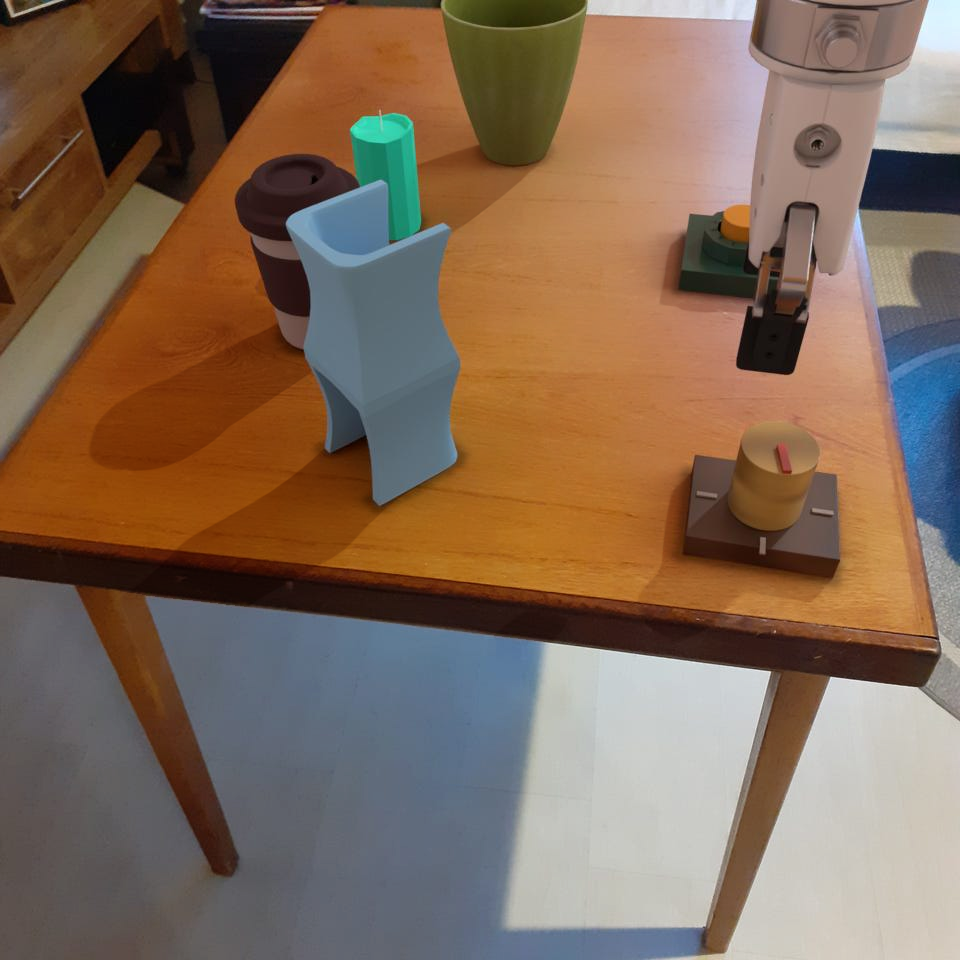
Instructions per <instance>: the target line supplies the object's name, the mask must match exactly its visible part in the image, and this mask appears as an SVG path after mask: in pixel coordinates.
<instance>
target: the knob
mask: <svg viewBox="0 0 960 960" xmlns="http://www.w3.org/2000/svg"><path fill="white" fill-rule="evenodd" d="M820 458H821V448H820V446H819V444H818V442H817V440H816V439H815V438H814V437H813V435H812V434H810V433H809V432H808V431H807V430H805V429H804V428H802V427H800V426H797V425H795V424H792V423H789V422H786V421H779V420H777V421H776V420H772V421H771V420H768V421H762V422H758V423H755V424H754V425H751V426H750V427H748V428H747V429H746V430H745V432H744V433H743V434H742V437H741V439H740V443H739V447H738V452H737V455H736V459H735V460H736V463H735V467H734V471H733V476H732V480H731V484H730V488H729V492H728V497H727V502H728V506H729V508H730V510H731V512H732V513H733V515H734V516H735V517H736V518H737V519H738V520H740V521H741V522H742V523H744V524H746V525H748V526H750V527H753V528H755V529H759V530H765V531H776V530H782V529H785V528H788V527H790V526H791V525H793V524H794V523H795V522H796V521H797V520H798V519H799V517H800V515H801V512H802V509H803V506H804V503H805V500H806V497H807V494H808V491H809V488H810V485H811V482H812V479H813V476H814V473H815V472H816V469H817V467H818V464H819V462H820Z"/></svg>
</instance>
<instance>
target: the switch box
mask: <svg viewBox="0 0 960 960" xmlns="http://www.w3.org/2000/svg"><path fill="white" fill-rule="evenodd" d="M724 211H725V210H722V211H717V212H715V213H713V214H712V215H709V214H700V213H689V214H688V221H687V228H686V235H685V240H684V248H683V254H682V255H683V256H682V261H681V267H680V275H679V280H678V287H677V290H678V291H685V292H686V291H687V292H693V293H701V294H702V293H704V294H712V295H721V296H731V297H739V298H740V297H741V298H749V299H754V297H755V290H756V284H757V278H758V275H751V274H746V273H745V272H744V270H743V266H744V260H745V255H746V250H747V245H748V243H746V242H736V241H733V240H730V239H728V238H725V237H724V236H723V235H722V234H721V231H720V229H721V224H722V218H723V213H724ZM778 279H779V277H770V276H769V282H768V289H767V294H768V293H769V291H770V290H771V289H777V282H778Z"/></svg>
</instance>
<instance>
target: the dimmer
mask: <svg viewBox="0 0 960 960" xmlns="http://www.w3.org/2000/svg"><path fill="white" fill-rule="evenodd" d="M735 463H736V459H729V458H722V457H716V456H715V457H714V456H708V455H701V454H700V455H699V454H694V458H693V462H692V468H691V473H690V482H689V489H688V491H689V492H688V499H687V508H686V519H685V527H684V528H685V529H684V538H683V545H682V555H683V556H690V557H695V558H696V557H697V558H703V559H708V560H709V559H711V560H716V561H721V562H728V563H735V564H741V565H746V566H753V567H758V568H764V569H765V568H766V569H771V570H777V571H783V572H791V573H796V574H802V575H803V574H804V575H809V576H815V577H821V578H827V579H834V577H835V575H836V572H837V571H838V567H839V565H840V562H841V541H840V539H841V538H840V537H841V536H840V514H839V492H838V491H839V490H838V488H839V487H838V474H836V473H829V472H823V471H815V473H814V476H813V479H812V482H811V485H810V488H809V491H808V494H807V497H806V500H805V503H804V506H803V509H802V512H801V515H800V517H799V519H798V520H797V521H796V522H795V523H794V524H793V525H791V526H790V527H788V528H785V529H782V530H776V531H765V530H759V529H755V528H753V527H750V526H748V525H746V524H744V523H742V522H741V521H740V520H738V519H737V518H736V517H735V516H734V515H733V513H732V512H731V510H730V508H729V506H728V502H727V497H728V492H729V488H730V484H731V480H732V476H733V471H734V467H735Z"/></svg>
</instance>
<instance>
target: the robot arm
mask: <svg viewBox="0 0 960 960" xmlns="http://www.w3.org/2000/svg"><path fill="white" fill-rule="evenodd" d="M929 1H930V0H756V2H755V8H754V12H753V13H754V14H753V19H752V25H751V32H750V35H749V41H748V48H747V49H748V53H749V55H750V57H751V58H753V60H754V62H756V63H758V64H759V65H760V66H761V67H763V68H765V69H767V70H768V75H767V81H766V86H765V92H764V98H763V103H762V109H761V114H760V121H759V127H758V130H757V139H756V145H755V151H754V159H753V160H754V161H753V170H752V176H751V177H752V179H751V188H750V204H749V205H750V228H749V240H748V245H747V250H746V255H745V260H744V266H743V270H744V272H745V273H746V274H751V275H758V278H757V284H756V290H755V297H754V298H753V303H752V305H747V306H746V311H745V316H744V319H743V320H744V321H743V325H742V326H743V327H742V329H741V335H740V340H739V344H738V349H737V353H736V358H735V366H736V368H737V369H739V370H740V371H748V372H757V373H763V374H764V373H765V374H773V375H780V376H781V375H783V376H791V375H793V373H795V370H796V366H797V362H798V359H799V356H800V352H801V349H802V344H803V340H804V337H805V334H806V329H807V326H808V322H809V319H810V312H809V310H810V303H811V297H812V291H813V285H814V279H815V273H816V269H817V268H818V273H819V274H827V275H828V276H830V277H831V276H832V277H834V276H836V275H838V274H839V273H840V272H841V271H842V270H843V269H844V267H845V263H846V259H847V254H848V250H849V245H850V243H851V239H852V234H853V229H854V225H855V222H856V218H857V213H858V209H859V207H860V202H861V198H862V193H863V189H864V186H865V183H866V182H865V181H866V177H867V174H868V170H869V165H870V161H871V157H872V153H873V149H874V144H875V140H876V134H877V131H878V125H879V120H880V113H881V108H882V103H883V97H884V91H885V86H886V85H885V84H886V80H887V79H890V78H893V77H896V76H897V75H900V74H901V73H903V72H904V71H906V69H907V68H908V67H909V66H910V64H911V61H912V58H913V55H914V52H915V48H916V45H917V42H918V38H919V36H920V32H921V28H922V25H923V22H924V18H925V14H926V11H927V8H928V5H929ZM769 276H770V277H779V279H778V282H777V289H771V290H770V291H769V293H768V294H767V289H768V282H769Z"/></svg>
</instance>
